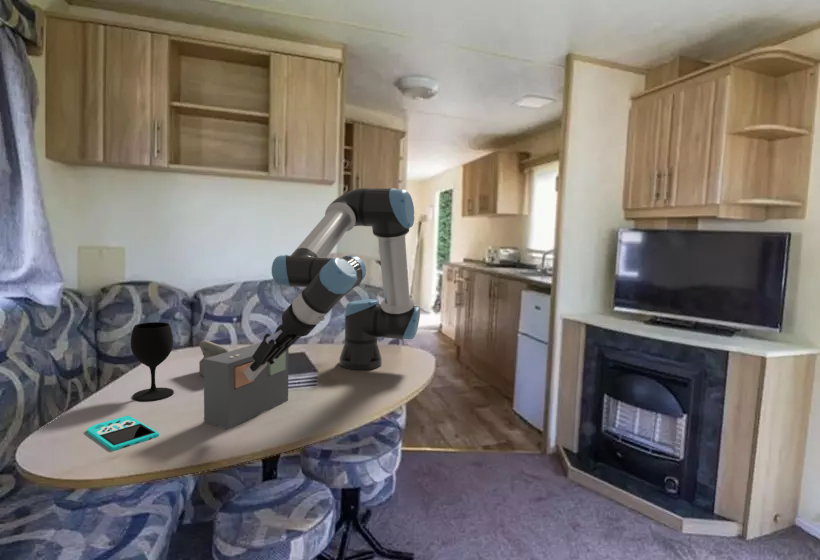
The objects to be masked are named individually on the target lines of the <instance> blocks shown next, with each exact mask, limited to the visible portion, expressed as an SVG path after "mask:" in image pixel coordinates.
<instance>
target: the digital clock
mask: <svg viewBox="0 0 820 560" xmlns="http://www.w3.org/2000/svg"><path fill="white" fill-rule="evenodd" d="M199 347H200V349H201V352H202V355H203V357H202V359H201V360H199V367H198V369H199V375H200V376H202V377H204V359H205V358H208V357H212V356H215V355H219V354H222V353H226V352H229V351H230V350H229V349H228V347H225V346H222V345H220V344H218V343H215V342H212V341H210V340H205V339H204V340H201V341H200V342H199Z"/></svg>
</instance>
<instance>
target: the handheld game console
mask: <svg viewBox="0 0 820 560" xmlns="http://www.w3.org/2000/svg"><path fill="white" fill-rule="evenodd" d="M86 433H87V434H88V435H90V437H92V438H94V439H95V440H96V441H98V442H99V443H101V444H102V445H103V446H105V447H107V448H108V449H109V450H110V451H112V452H113V451H117V450H121V449H123V448H128V447H130V446H133V445H137V444H139V443H142V442H146V441H148V440H152V438H153V439H155V438H158V437H160V433H159V432H158V431H157V430H154V429H153V428H152V427H149V426H148V425H146V424H145V423H142V422H141V421H140V420H137V419H136V418H134V417H132V416H131V415H125V416H121V417H117V418H114V419H110V420H106V421H103V422H102V421H101V422H99V423H96V424H93V425H92V426H89V427H88V428H87V429H86Z"/></svg>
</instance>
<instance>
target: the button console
mask: <svg viewBox="0 0 820 560" xmlns="http://www.w3.org/2000/svg"><path fill="white" fill-rule="evenodd" d="M261 342H262V341H261ZM261 342H257V343H254V344H251V345H247V346H243V347H240V348H237V349H234V350H228V351H229V352H226V353H222V354H219V355H215V356H212V357H208V358H205V359H204V376H203V420H204V421H203V423H205V424H209V425H213V426H217V427H220V428H224V429H228V430H229V429H232V428H234V427H236V426H238V425H240V424H243V423H245V422H247V421H249V420H250V419H252V417H253V418H254V417H256V415H257V416H258V414H259V415H260V413H261V414H262V412H263V413H265V412H267V411H269V410H271V409H274V408H275V407H277V406H279V405H281V404H284V403H285V402H287V401H289V349H290V347H289V348H288V349H287V350H286V351H285V352H286V370H283V371H281V372H278V373H275V374H273V375H268V364H267V366H266V367H265V368H264V369H263V370H262V371H261V372H260V373H259V374H258V375H257V377H256V378H255V379H254V382H251V383H249V384H246V385H243V386H241V387H238V388H234V367H235V366H238V365H241V364H244V363H247V362H250V361H251V362H253V361H254V359H253V357H252V356H253V354H254V353H255V351H256V350H257V348H258V347H259V345H260V344H261ZM264 411H265V412H264Z"/></svg>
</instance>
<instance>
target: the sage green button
mask: <svg viewBox="0 0 820 560" xmlns="http://www.w3.org/2000/svg"><path fill="white" fill-rule="evenodd" d="M273 361H274V362H275V363H273V364H272V365H271V364H270V363H269V362H268V375H273V374H275V373H278V372H281V371H283V370H286V352H284V353H283V354H282V355H281V356H279V358H277V359H275V358H274V359H273Z"/></svg>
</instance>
